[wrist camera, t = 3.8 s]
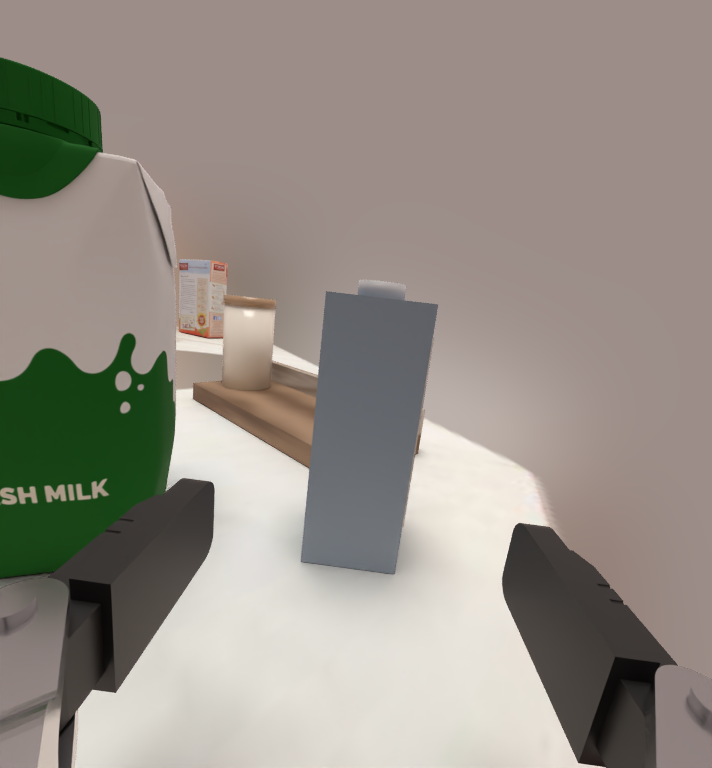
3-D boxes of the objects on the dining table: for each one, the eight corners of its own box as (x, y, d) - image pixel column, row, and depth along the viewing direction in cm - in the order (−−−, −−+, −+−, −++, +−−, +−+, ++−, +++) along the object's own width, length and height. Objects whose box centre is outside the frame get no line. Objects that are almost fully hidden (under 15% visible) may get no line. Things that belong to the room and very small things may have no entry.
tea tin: (300, 561, 19) (327, 272, 15) (315, 508, 23) (338, 281, 20) (397, 574, 18) (444, 286, 15) (392, 518, 23) (427, 291, 20)
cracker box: (226, 338, 102) (228, 263, 97) (207, 338, 97) (209, 259, 92) (196, 331, 109) (197, 261, 104) (178, 331, 104) (178, 258, 99)
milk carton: (-93, 606, 14) (-216, -9, 9) (30, 488, 22) (-6, 131, 18) (158, 573, 17) (153, 93, 12) (183, 480, 25) (185, 172, 21)
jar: (237, 393, 41) (240, 296, 38) (212, 381, 45) (213, 293, 42) (281, 387, 45) (286, 301, 43) (254, 377, 49) (258, 298, 47)
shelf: (339, 486, 27) (346, 430, 26) (193, 398, 43) (193, 363, 42) (417, 453, 35) (425, 409, 34) (268, 390, 51) (270, 360, 50)
